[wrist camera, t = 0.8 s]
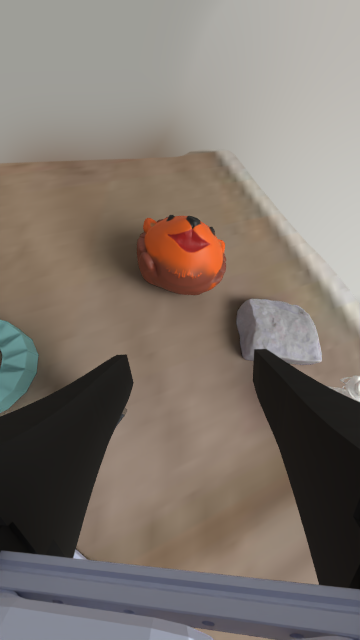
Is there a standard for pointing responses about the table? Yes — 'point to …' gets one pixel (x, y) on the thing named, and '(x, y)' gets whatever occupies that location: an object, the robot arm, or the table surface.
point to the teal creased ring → (15, 364)
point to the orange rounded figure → (181, 255)
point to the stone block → (278, 331)
